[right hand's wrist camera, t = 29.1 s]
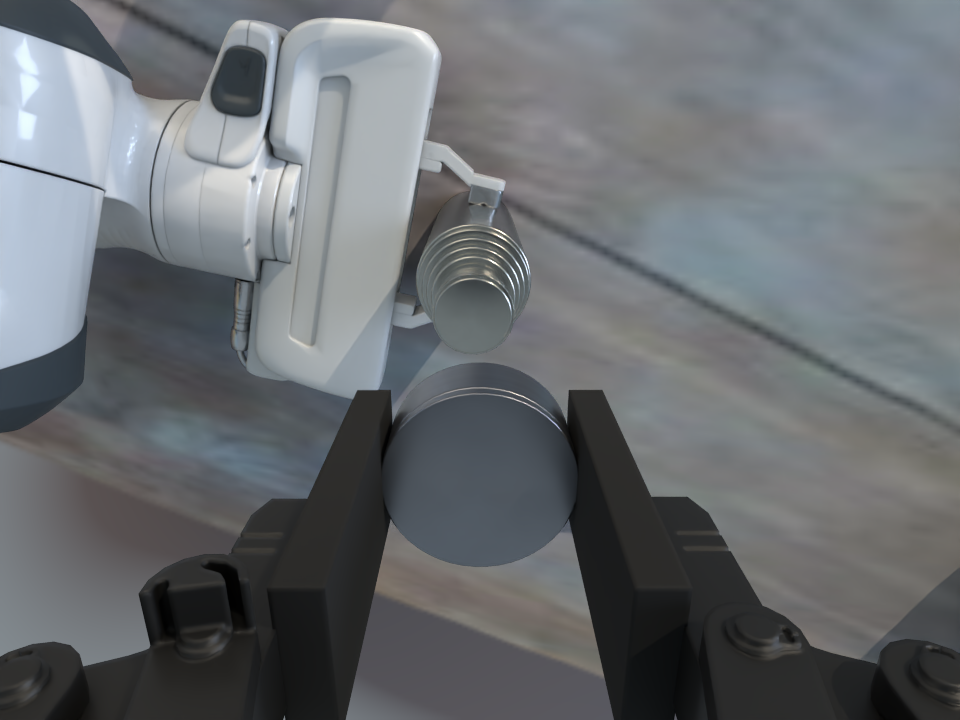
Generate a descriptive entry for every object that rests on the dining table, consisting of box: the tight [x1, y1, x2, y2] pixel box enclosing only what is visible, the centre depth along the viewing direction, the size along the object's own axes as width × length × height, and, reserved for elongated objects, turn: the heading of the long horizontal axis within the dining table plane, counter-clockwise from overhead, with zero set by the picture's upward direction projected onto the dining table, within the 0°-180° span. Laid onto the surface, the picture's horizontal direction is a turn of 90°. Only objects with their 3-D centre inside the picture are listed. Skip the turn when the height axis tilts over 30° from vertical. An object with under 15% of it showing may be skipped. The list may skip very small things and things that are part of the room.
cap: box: [381, 363, 578, 567], centre depth 14 cm, size 4×4×2 cm
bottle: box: [416, 191, 531, 354], centre depth 33 cm, size 5×5×19 cm
